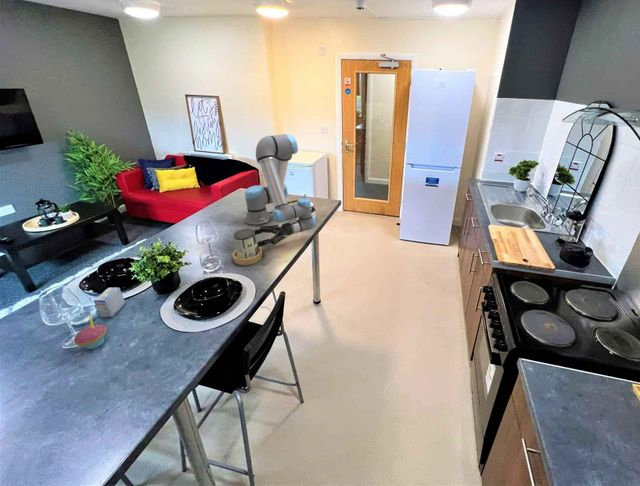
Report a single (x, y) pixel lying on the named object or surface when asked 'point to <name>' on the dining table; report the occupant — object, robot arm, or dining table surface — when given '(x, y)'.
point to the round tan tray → (248, 260)
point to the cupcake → (91, 335)
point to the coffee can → (245, 243)
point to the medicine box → (109, 302)
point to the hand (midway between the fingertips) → (253, 239)
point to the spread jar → (313, 211)
